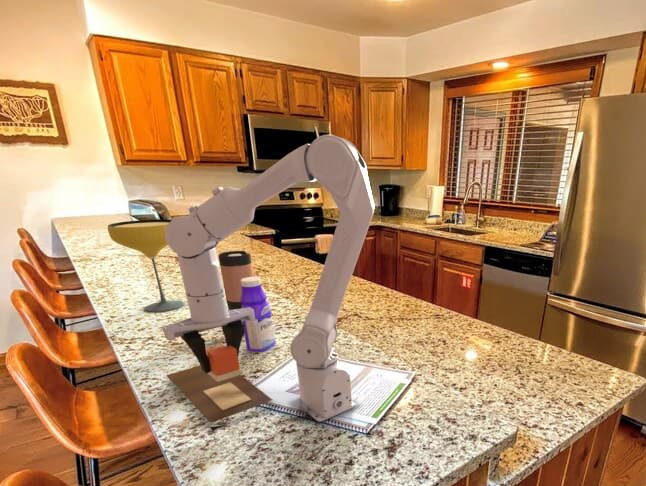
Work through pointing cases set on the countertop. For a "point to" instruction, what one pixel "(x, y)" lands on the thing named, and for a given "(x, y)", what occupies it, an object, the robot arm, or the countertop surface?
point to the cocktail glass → (145, 249)
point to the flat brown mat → (217, 393)
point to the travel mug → (234, 275)
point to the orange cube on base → (223, 362)
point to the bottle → (257, 316)
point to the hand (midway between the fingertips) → (220, 366)
